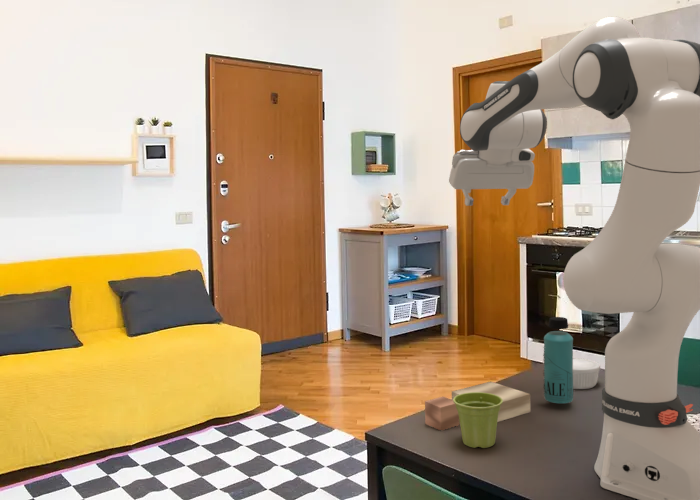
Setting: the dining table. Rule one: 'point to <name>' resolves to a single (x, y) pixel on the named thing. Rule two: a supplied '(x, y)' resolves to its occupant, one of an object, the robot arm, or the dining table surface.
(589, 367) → the ramekin
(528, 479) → the dining table surface
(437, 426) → the terracotta cube
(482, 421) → the plant pot
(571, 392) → the beverage bottle
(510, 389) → the birch base
